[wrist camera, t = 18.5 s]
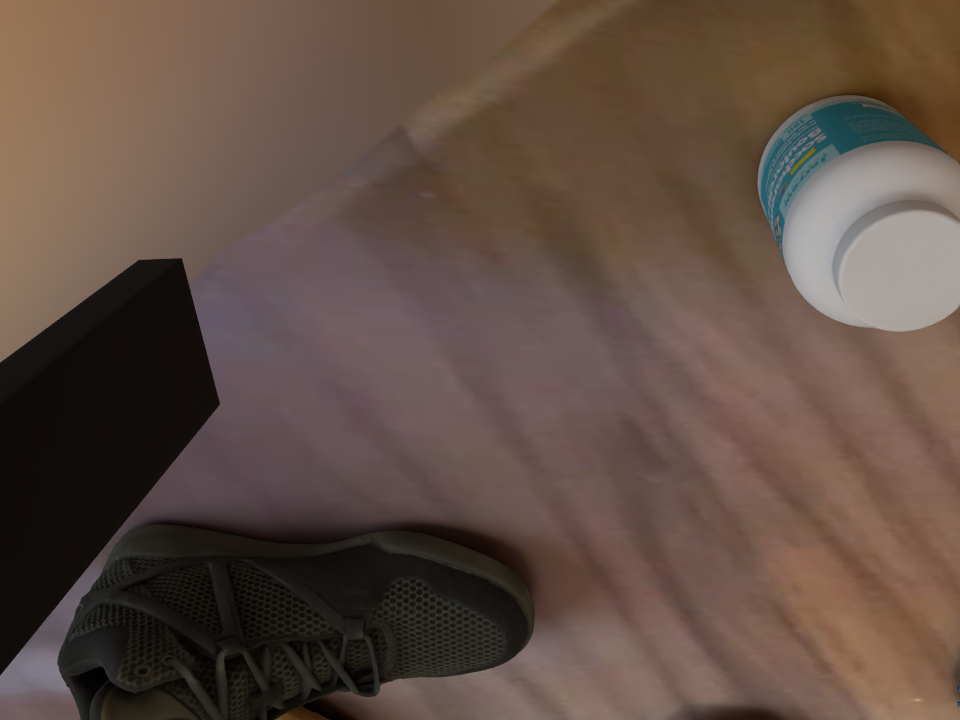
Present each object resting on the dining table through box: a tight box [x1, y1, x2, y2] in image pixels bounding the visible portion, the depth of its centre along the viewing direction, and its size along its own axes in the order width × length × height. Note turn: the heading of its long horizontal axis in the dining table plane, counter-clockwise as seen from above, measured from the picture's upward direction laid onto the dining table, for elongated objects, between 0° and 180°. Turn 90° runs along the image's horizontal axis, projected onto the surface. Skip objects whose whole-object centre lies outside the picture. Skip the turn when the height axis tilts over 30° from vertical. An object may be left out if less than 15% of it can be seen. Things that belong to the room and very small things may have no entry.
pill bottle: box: [758, 95, 960, 332], centre depth 37 cm, size 8×7×14 cm
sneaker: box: [57, 524, 535, 720], centre depth 53 cm, size 12×29×17 cm, turn 96°
